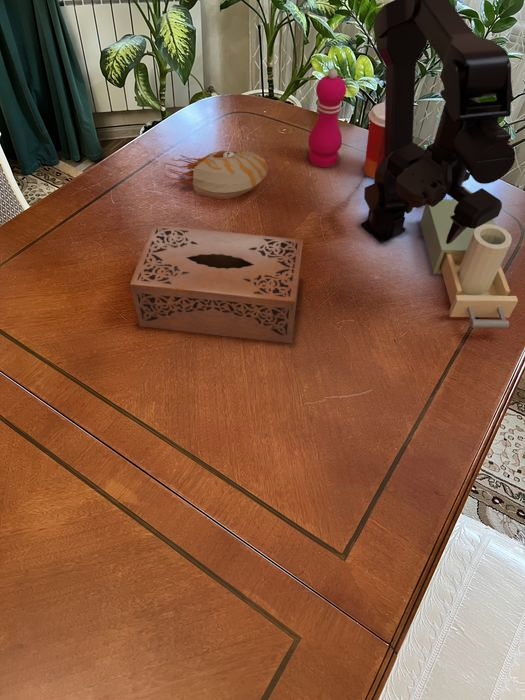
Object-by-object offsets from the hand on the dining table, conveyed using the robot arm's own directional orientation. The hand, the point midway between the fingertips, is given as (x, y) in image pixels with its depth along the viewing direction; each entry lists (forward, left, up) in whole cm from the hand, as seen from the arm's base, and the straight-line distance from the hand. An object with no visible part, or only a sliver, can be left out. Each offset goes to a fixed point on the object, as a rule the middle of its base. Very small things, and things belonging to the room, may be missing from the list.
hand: (428, 227), depth 94 cm
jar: (+7, +7, -11) cm, 15 cm away
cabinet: (-2, +14, -13) cm, 19 cm away
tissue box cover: (-15, -31, -13) cm, 37 cm away
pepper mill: (-39, +11, -13) cm, 43 cm away
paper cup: (-29, +18, -13) cm, 37 cm away
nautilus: (-44, -14, -13) cm, 48 cm away
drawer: (+9, +6, -12) cm, 17 cm away
